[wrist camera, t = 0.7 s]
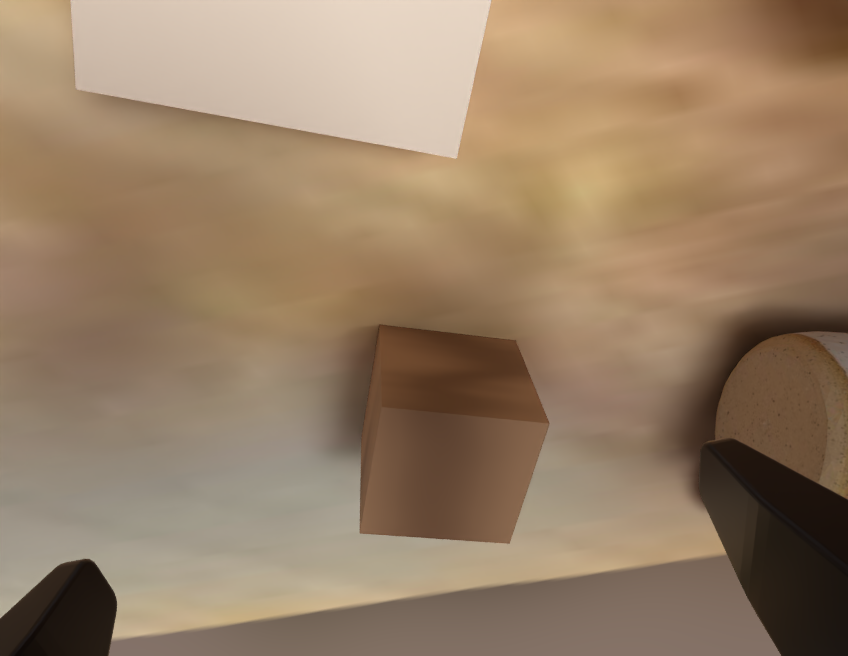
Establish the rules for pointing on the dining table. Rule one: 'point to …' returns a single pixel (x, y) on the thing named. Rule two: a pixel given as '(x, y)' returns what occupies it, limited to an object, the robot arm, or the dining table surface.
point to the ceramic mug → (793, 404)
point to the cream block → (293, 62)
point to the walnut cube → (447, 436)
